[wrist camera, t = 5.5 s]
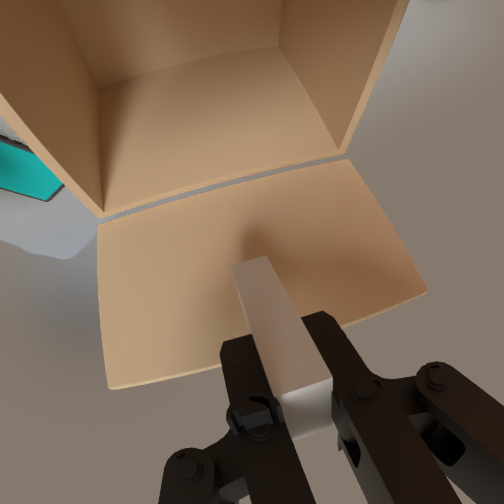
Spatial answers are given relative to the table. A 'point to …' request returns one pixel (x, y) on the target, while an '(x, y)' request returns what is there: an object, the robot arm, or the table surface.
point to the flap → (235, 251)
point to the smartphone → (26, 172)
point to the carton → (186, 88)
